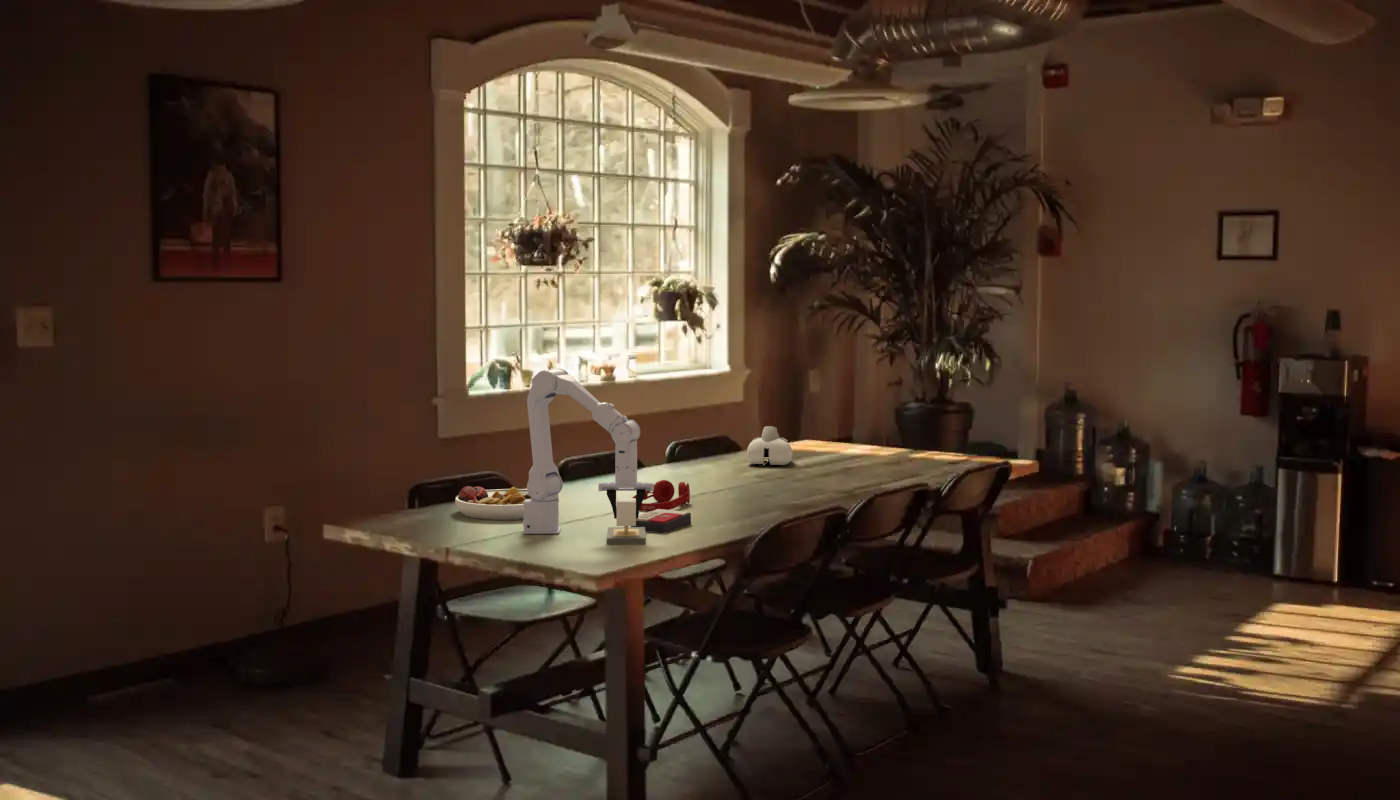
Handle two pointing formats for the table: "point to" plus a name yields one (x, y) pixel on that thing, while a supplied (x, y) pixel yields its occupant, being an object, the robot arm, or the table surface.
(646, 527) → the calculator
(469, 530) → the table surface
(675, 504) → the headphones
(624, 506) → the block
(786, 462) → the off-white rounded lobed piece
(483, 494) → the bowl
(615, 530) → the board
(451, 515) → the table surface
